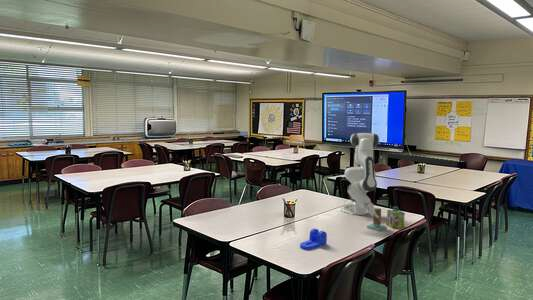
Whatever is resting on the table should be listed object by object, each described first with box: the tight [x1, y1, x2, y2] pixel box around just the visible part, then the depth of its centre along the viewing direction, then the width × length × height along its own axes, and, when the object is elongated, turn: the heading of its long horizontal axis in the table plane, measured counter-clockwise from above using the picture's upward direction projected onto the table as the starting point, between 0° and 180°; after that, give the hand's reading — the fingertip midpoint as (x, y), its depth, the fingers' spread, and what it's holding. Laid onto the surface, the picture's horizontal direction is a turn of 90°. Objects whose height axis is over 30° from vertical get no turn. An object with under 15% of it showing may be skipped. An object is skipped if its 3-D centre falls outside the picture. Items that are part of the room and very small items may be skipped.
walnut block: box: [372, 207, 382, 225], centre depth 257 cm, size 5×5×11 cm
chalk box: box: [386, 206, 405, 229], centre depth 261 cm, size 9×9×15 cm
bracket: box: [299, 228, 328, 251], centre depth 220 cm, size 18×8×9 cm, turn 131°
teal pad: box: [366, 223, 387, 232], centre depth 257 cm, size 10×10×2 cm
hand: (377, 216), depth 256 cm, fingers closed on walnut block, 5 cm apart
